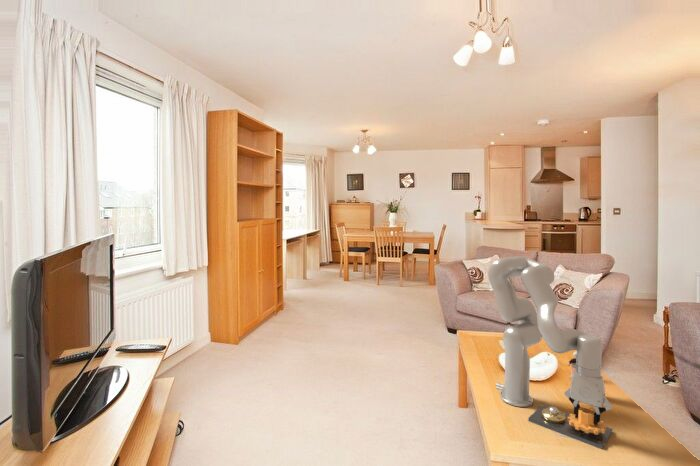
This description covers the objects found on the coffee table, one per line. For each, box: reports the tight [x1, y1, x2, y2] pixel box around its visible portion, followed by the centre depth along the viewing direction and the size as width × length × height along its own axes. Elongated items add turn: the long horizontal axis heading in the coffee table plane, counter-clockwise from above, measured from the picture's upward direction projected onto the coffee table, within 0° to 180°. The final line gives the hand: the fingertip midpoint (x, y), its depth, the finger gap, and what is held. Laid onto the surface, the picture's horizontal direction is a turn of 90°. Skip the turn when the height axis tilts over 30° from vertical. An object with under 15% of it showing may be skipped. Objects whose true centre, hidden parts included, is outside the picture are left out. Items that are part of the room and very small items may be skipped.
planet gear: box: [568, 406, 607, 435], centre depth 137 cm, size 12×12×5 cm
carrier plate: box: [527, 404, 614, 450], centre depth 142 cm, size 24×14×7 cm, turn 44°
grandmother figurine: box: [567, 351, 577, 379], centre depth 182 cm, size 8×4×13 cm, turn 76°
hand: (586, 419), depth 138 cm, fingers closed on planet gear, 5 cm apart
